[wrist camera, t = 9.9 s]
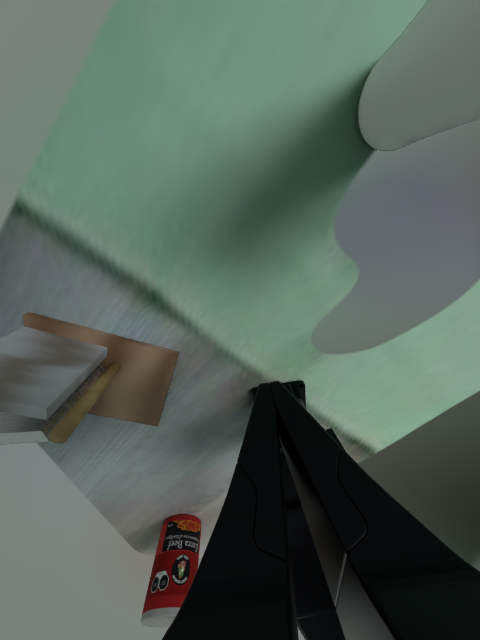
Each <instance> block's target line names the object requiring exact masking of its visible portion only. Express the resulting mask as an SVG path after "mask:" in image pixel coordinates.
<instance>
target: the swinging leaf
mask: <svg viewBox="0 0 480 640" xmlns="http://www.w3.org/2000/svg"><path fill="white" fill-rule="evenodd" d="M104 370H105V368H104V366H103V364H99V365H98V366H97V367H96V368H95V369H94V370H93V372H92V373H91V374H90V375H89V376H88V377H87V378H86V379H85V380H84V381H83V382H82V383H81V384H80V385H79V386H78V388H77V389H76V390H75V391H74V392H73V393H72V394H71V395H70V396H69V397H68V398H67V399H66V400H65V401H64V402H63V403H62V405H61V406H60V407H59V408H58V409H57V410H56V411H55V412H54V413H53V414H52V415H51V416H50V417H49V418H48V419H47V420H44V419H38V418H33V417H27V416H21V415H16V414H10V413H4V412H0V445H3V444H18V443H33V442H48V441H50V439H49V438H48V435H49V433H50V432H51V431H52V430H53V429H54V428H55V427H56V425H57V424H58V423H59V422H60V421H61V420H62V418H63V417H64V416H65V415H66V414H67V413H68V412H69V410H70V409H71V408H72V407H73V406H74V405H75V403H76V402H77V401H78V400H79V399H80V398H81V397H82V395H83V394H84V393H85V392H86V391H87V390H88V388H89V387H90V386H91V385H92V384H93V383H94V382H95V380H96V379H97V378H98V377H99V376H100V375H101V373H102V372H103V371H104Z"/></svg>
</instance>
